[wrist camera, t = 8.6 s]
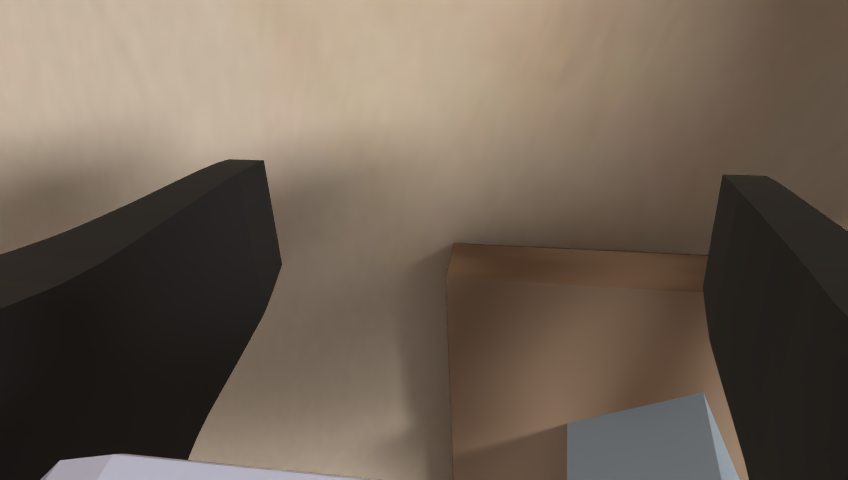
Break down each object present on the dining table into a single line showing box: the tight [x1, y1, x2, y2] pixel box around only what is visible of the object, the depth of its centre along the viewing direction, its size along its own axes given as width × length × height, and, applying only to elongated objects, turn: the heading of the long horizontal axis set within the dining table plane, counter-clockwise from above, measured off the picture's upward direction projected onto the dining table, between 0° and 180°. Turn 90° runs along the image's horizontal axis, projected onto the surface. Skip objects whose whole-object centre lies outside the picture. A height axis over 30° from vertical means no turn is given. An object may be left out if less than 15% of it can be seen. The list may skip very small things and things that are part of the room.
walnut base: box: [446, 244, 749, 480], centre depth 26 cm, size 14×14×2 cm
